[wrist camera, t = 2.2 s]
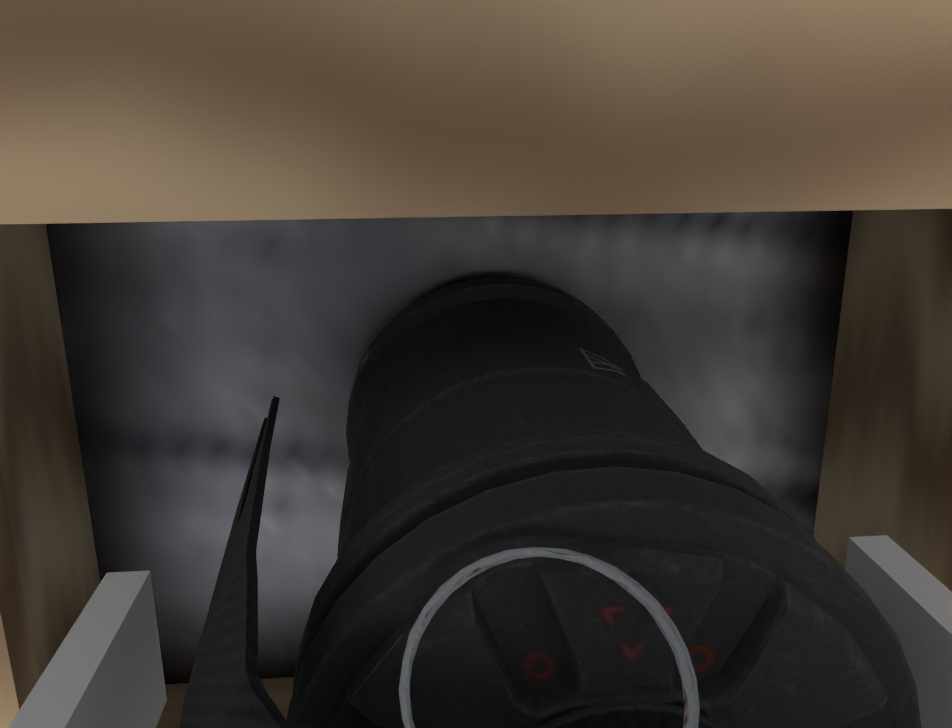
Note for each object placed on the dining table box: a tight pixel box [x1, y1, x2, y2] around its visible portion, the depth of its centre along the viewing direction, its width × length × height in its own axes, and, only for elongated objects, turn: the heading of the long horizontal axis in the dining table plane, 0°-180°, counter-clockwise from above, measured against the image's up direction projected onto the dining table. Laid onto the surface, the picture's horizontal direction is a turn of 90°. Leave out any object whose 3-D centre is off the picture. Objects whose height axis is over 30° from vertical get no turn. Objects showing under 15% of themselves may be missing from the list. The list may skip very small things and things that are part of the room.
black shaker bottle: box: [180, 277, 922, 728], centre depth 18 cm, size 9×11×20 cm
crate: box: [0, 0, 952, 728], centre depth 22 cm, size 22×26×10 cm
